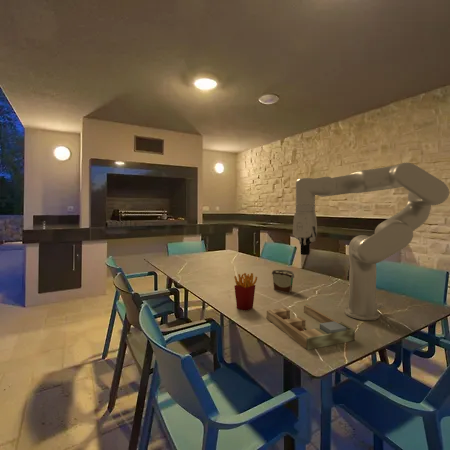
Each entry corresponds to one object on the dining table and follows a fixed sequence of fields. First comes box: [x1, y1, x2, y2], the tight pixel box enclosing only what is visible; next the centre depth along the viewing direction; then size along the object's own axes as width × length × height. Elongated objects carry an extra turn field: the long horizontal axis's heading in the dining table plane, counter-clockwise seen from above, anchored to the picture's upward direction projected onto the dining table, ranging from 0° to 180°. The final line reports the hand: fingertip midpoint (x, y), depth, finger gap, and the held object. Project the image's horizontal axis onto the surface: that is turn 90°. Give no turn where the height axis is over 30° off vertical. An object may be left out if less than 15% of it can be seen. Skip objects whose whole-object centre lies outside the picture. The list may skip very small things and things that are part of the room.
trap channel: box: [266, 304, 356, 351], centre depth 100 cm, size 18×26×4 cm
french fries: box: [233, 272, 258, 312], centre depth 121 cm, size 9×8×15 cm
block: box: [319, 320, 346, 334], centre depth 92 cm, size 6×6×4 cm
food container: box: [271, 269, 295, 294], centre depth 145 cm, size 12×6×10 cm, turn 47°
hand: (305, 254), depth 115 cm, fingers closed
